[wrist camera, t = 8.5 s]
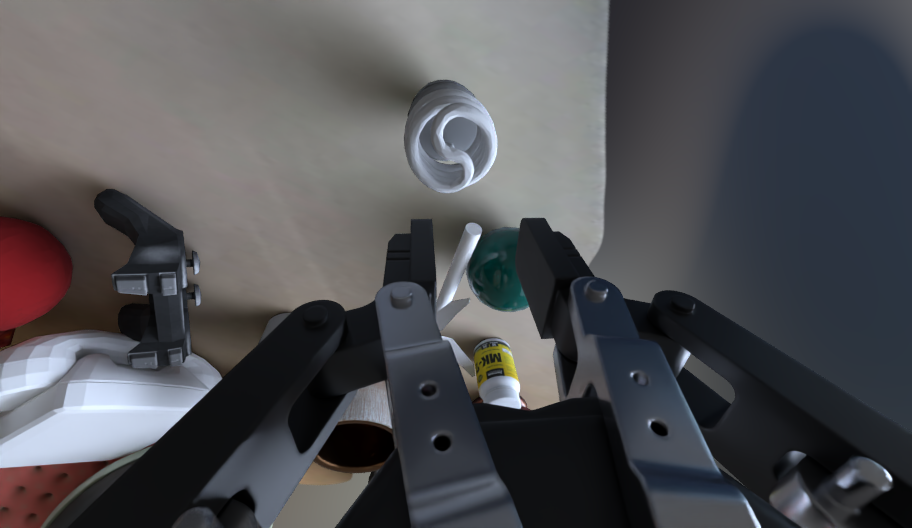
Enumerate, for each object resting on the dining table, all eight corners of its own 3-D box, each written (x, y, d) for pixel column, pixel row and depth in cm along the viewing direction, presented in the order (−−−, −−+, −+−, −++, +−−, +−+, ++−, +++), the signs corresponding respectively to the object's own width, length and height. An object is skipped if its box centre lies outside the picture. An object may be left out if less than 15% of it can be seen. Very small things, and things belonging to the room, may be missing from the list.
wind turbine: (554, 243, 31) (480, 350, 47) (390, 184, 30) (372, 313, 46) (551, 276, 29) (474, 377, 45) (373, 213, 28) (360, 339, 44)
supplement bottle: (496, 331, 45) (510, 389, 39) (516, 350, 48) (533, 408, 41) (465, 349, 47) (473, 408, 40) (486, 367, 49) (497, 426, 42)
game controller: (199, 312, 43) (209, 381, 37) (120, 322, 39) (116, 401, 33) (194, 185, 35) (205, 247, 28) (92, 180, 30) (80, 252, 24)
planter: (303, 374, 47) (280, 448, 39) (367, 333, 44) (356, 405, 36) (365, 412, 52) (355, 484, 44) (425, 377, 49) (427, 448, 41)
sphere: (477, 287, 41) (488, 341, 34) (449, 230, 37) (457, 278, 30) (546, 262, 40) (572, 312, 33) (527, 199, 35) (552, 243, 29)
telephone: (251, 412, 42) (249, 336, 46) (-6, 405, 25) (30, 286, 29) (153, 460, 45) (159, 384, 49) (-134, 482, 28) (-83, 364, 33)
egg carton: (-119, 573, 38) (-140, 592, 36) (70, 345, 41) (60, 352, 39) (166, 613, 50) (162, 629, 48) (296, 435, 53) (296, 444, 51)
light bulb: (482, 132, 32) (512, 189, 22) (419, 151, 32) (421, 214, 22) (467, 60, 28) (493, 88, 19) (397, 81, 29) (387, 120, 19)
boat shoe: (3, 536, 38) (-37, 637, 31) (253, 358, 43) (262, 412, 37) (109, 556, 45) (94, 641, 39) (311, 401, 51) (327, 453, 44)
